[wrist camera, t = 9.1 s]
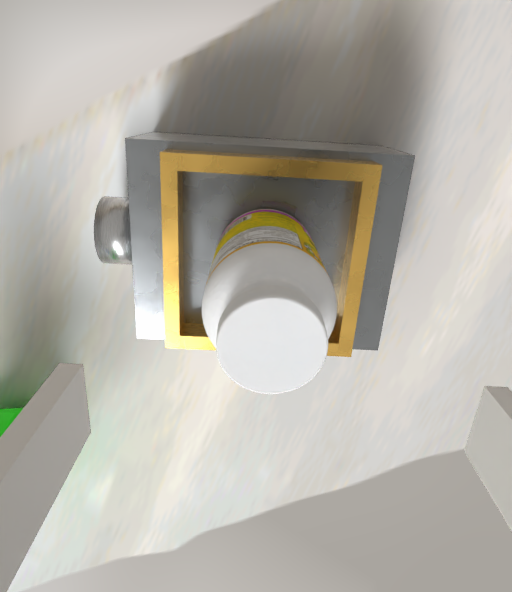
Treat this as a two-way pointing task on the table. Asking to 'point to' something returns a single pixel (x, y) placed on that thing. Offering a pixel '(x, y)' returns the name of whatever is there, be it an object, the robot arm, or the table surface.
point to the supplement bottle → (268, 303)
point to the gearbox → (241, 199)
